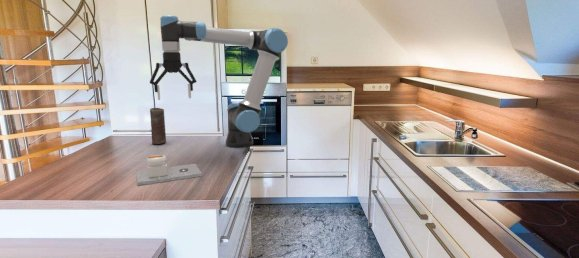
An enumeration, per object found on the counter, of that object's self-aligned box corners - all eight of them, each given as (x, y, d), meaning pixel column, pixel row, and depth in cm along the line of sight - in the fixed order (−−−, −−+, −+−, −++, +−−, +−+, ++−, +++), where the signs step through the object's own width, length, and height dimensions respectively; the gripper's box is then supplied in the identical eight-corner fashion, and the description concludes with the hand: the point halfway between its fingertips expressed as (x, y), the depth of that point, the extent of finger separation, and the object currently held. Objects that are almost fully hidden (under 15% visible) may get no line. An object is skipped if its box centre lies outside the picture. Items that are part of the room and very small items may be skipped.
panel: (195, 166, 147) (195, 157, 146) (201, 176, 134) (201, 166, 133) (136, 174, 136) (135, 164, 135) (137, 185, 124) (136, 175, 123)
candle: (161, 141, 190) (158, 107, 186) (169, 143, 186) (166, 108, 182) (149, 143, 184) (146, 108, 180) (157, 145, 180) (154, 109, 176)
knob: (166, 170, 138) (164, 152, 136) (168, 175, 132) (166, 156, 130) (148, 172, 135) (146, 154, 133) (149, 177, 129) (147, 159, 127)
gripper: (198, 52, 157) (200, 96, 161) (140, 51, 146) (145, 99, 150) (201, 51, 150) (203, 98, 154) (141, 51, 139) (146, 101, 144)
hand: (174, 98), depth 152 cm, fingers open, 13 cm apart
